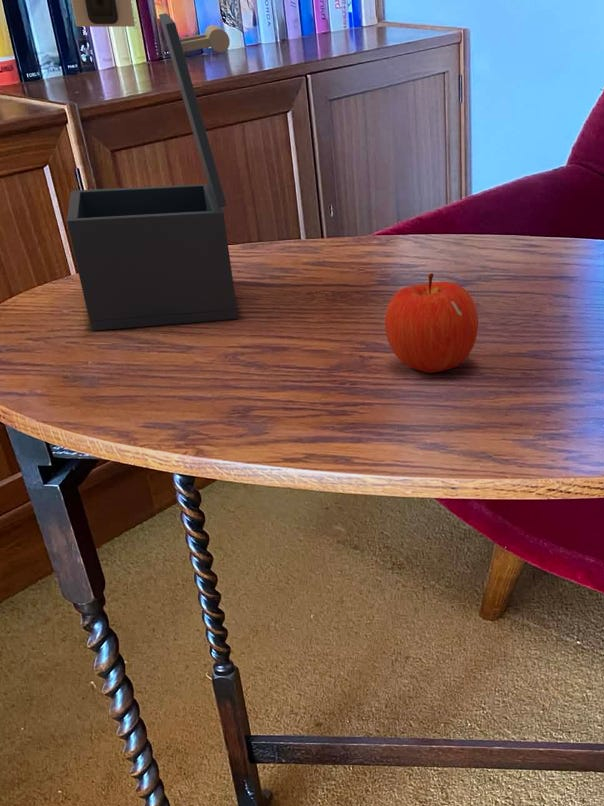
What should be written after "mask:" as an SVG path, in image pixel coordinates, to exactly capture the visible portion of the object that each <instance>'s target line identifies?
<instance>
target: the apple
mask: <svg viewBox="0 0 604 806" xmlns="http://www.w3.org/2000/svg"><path fill="white" fill-rule="evenodd" d="M427 278H428V282H427V283H420V284H416V285H410V286H406V287H403V288H401V289H400V290H398V291H397V292H395V294H394V295H393V297H392V298H391V299H390V301H389V303H388V305H387V308H386V311H385V317H384V329H385V335H386V339H387V342H388V345H389V347H390V348H391V351H392V352H393V354H394V355H395V356H396V357H397V359H398V360H399V361H400V362H401V363H403V364H404V365H406V366H407V367H409V368H412V369H413V370H418V371H421V372H422V373H423V372H424V373H427V374H429V373H430V374H432V373H433V374H434V373H438V372H445V371H447V370H451V369H454V368H457V367H458V366H459V365H461V364H462V363H463V362H465V360H466V359H467V358H468V357H469V355H470V354H471V352H472V350H473V348H474V346H475V344H476V340H477V337H478V332H479V315H478V314H479V313H478V311H477V307H476V304H475V302H474V300H473V298H472V296H471V295H470V293H469V292H468V291H467V290H466V289H465V288H464V287H463V286H461V285H460V284H458V283H455V282H451V281H435V282H434V281H433V278H434V272H431V273H429V274H428V277H427Z"/></svg>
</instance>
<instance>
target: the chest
mask: <svg viewBox="0 0 604 806" xmlns="http://www.w3.org/2000/svg"><path fill="white" fill-rule="evenodd" d="M66 224H67V228H68V232H69V233H68V234H69V237H70V241H71V246H72V250H73V255H74V260H75V264H76V268H77V272H78V277H79V281H80V285H81V290H82V294H83V299H84V303H85V307H86V312H87V316H88V321H89V326H90V329H91V331H92V332H97V331H108V330H110V331H111V330H121V329H130V328H133V329H134V328H141V327H142V328H143V327H156V326H168V325H169V326H170V325H179V324H190V323H191V324H192V323H204V322H215V321H227V320H238V319H239V315H238V308H237V300H236V294H235V287H234V278H233V270H232V263H231V256H230V249H229V241H228V235H227V228H226V220H225V213H224V210H223V207H220V208H219V207H218V205H217V203H216V200H215V198H214V196H213V193H212V191H211V188H210V186H209V184H208V183H200V184H180V185H179V184H178V185H159V186H158V185H157V186H156V185H155V186H137V187H117V188H98V189H97V188H96V189H95V188H93V189H77V190H71V191H70V197H69V205H68V212H67V218H66Z"/></svg>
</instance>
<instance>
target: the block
mask: <svg viewBox="0 0 604 806" xmlns="http://www.w3.org/2000/svg"><path fill="white" fill-rule="evenodd" d="M70 2H71V7H72V13H73V18H74V22H75V26H76V27H78V28H82V27H83V28H85V27H87V28H88V27H89V28H90V27H91V28H92V27H93V28H95V27H96V28H97V27H99V28H100V27H101V28H102V27H103V28H105V27H107V28H108V27H110V28H112V27H113V28H114V27H118V28H119V27H120V28H121V27H123V28H124V27H133V28H134V27H136V23H135V22H136V21H135V16H134V10H133V5H132V4H133V3H132V0H115V2H116V7H117V13H118V20H117V22H116V23H114V24H94V23H92V22H91V21H90V20H89V18H88V13H87V8H86V3H85V0H70Z"/></svg>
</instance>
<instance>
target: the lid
mask: <svg viewBox="0 0 604 806" xmlns="http://www.w3.org/2000/svg"><path fill="white" fill-rule="evenodd" d="M158 17H159V21H160V25H161V29H162V32H163V35H164V38H165V41H166V45H167V48H168V51H169V55H170V59H171V62H172V65H173V68H174V72H175V76H176V79H177V83H178V86H179V89H180V93H181V98H182V100H183V104H184V106H185V110H186V113H187V117H188V121H189V124H190V127H191V131H192V135H193V137H194V141H195V144H196V148H197V150H198V154H199V158H200V162H201V165H202V168H203V172H204V176H205V179H206V181H207V184H209V186H210V188H211V191H212V193H213V196H214V198H215V200H216V203H217V205H218V207H219V208H220V207H221V208H224V207H227V205H228V204H227V201H226V197H225V194H224V190H223V187H222V183H221V179H220V176H219V172H218V170H217V165H216V163H215V157H214V155H213V152H212V151H213V150H212V148H211V144H210V141H209V137H208V134H207V130H206V126H205V123H204V120H203V116H202V113H201V110H200V106H199V102H198V99H197V95H196V92H195V89H194V83H193V81H192V77H191V74H190V71H189V67H188V64H187V60H186V56H185V53H186V52H190V51H197V50H202V49H207V48H212V49H213V50H214V51H215V52H217V53H224V52H226V51H227V50H228V49H229V47H230V43H231V40H230V37H229V34H228V33H227V32H226V30H224V29H222V28H221V27H220V26H218V25H216V24H210V25H208V26H207V27H206V29H205V30H204V33H202V34H198V35H197V34H196V35H192V36H187V37H180V35H179V32H178V28H177V24H176V23H175V21H174V20H173V19H172V18H171V16H170V15H169V14H168V13H160V14H158Z"/></svg>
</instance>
